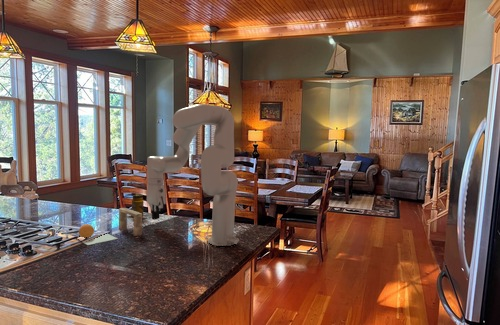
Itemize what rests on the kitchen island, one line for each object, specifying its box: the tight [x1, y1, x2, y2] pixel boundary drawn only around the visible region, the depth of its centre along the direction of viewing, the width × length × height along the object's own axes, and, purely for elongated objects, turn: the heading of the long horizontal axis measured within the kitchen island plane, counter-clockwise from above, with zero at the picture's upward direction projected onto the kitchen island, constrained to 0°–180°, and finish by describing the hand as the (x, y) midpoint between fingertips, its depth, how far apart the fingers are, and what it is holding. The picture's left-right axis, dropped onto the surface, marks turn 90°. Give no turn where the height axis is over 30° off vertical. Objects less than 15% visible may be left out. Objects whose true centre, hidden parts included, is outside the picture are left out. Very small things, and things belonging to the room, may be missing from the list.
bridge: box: [118, 207, 143, 237], centre depth 165 cm, size 3×15×10 cm, turn 48°
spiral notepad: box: [83, 233, 119, 246], centre depth 153 cm, size 13×13×1 cm
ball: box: [78, 223, 95, 238], centre depth 153 cm, size 6×6×6 cm
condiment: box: [127, 194, 146, 220], centre depth 191 cm, size 7×8×12 cm
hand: (155, 218), depth 174 cm, fingers closed
